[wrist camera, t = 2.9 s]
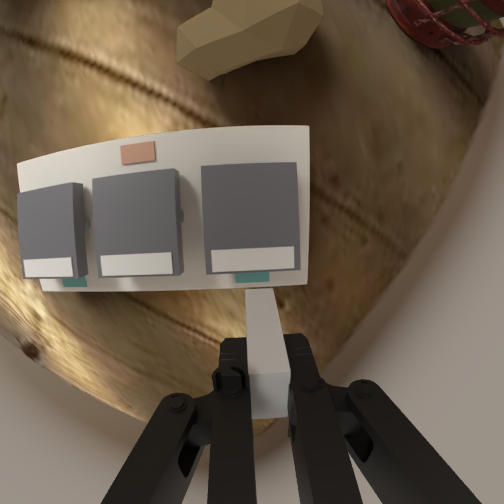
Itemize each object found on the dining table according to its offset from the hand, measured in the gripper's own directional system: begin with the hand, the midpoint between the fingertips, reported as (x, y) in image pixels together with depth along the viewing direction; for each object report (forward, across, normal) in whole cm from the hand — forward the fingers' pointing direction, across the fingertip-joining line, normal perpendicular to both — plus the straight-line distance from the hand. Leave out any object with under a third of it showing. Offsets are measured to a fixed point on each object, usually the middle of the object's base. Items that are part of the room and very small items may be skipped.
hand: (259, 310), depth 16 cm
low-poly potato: (+15, 0, +21) cm, 26 cm away
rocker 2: (+8, 0, +3) cm, 8 cm away
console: (+15, -9, +3) cm, 18 cm away
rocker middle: (+8, -9, +3) cm, 12 cm away
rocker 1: (+8, -18, +3) cm, 20 cm away
